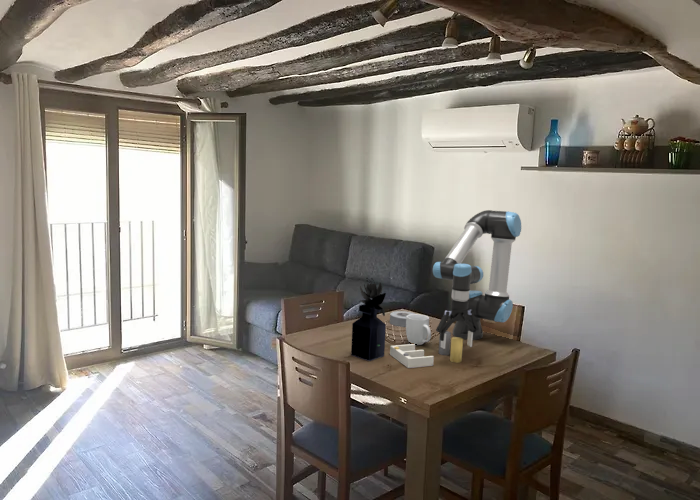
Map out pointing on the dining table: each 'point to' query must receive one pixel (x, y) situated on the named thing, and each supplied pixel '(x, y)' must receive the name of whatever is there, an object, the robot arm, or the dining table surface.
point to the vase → (369, 325)
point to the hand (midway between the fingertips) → (456, 346)
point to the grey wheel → (399, 318)
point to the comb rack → (411, 356)
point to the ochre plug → (456, 349)
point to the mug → (417, 328)
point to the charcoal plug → (447, 345)
